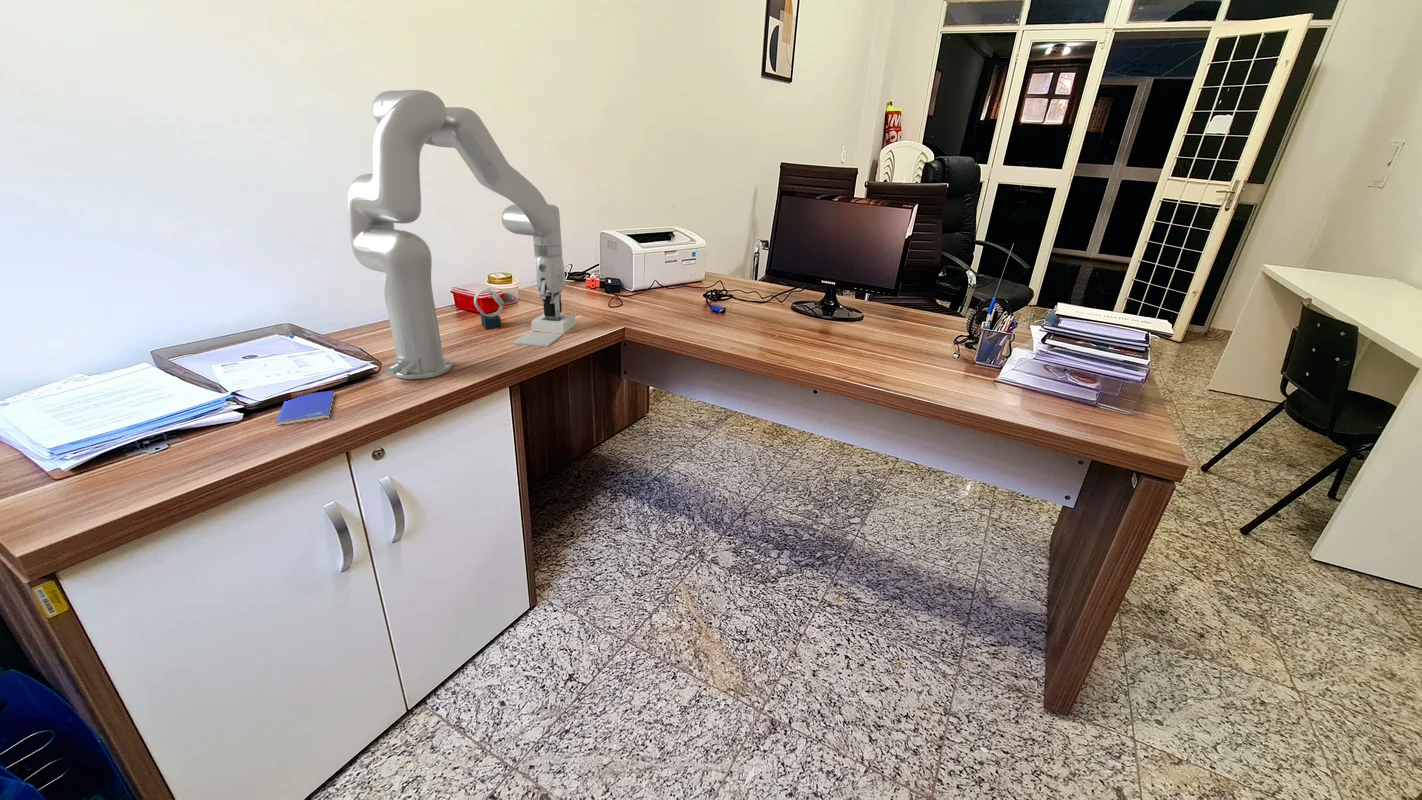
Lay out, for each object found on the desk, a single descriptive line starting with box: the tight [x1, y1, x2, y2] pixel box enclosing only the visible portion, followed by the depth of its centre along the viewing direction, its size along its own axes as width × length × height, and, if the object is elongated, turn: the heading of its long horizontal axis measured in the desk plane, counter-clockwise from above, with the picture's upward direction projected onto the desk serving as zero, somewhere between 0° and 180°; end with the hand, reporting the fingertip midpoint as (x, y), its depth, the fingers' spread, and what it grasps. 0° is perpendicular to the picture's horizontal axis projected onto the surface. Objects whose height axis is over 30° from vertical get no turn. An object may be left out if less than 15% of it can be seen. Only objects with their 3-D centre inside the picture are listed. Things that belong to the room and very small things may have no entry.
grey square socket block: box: [530, 312, 576, 335], centre depth 164 cm, size 10×10×3 cm
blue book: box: [275, 390, 335, 426], centre depth 109 cm, size 2×8×12 cm
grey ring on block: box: [473, 288, 505, 330], centre depth 161 cm, size 6×8×11 cm
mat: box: [511, 331, 562, 348], centre depth 153 cm, size 10×10×1 cm
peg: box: [546, 293, 561, 321], centre depth 162 cm, size 4×4×10 cm
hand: (553, 313), depth 163 cm, fingers closed on peg, 4 cm apart
